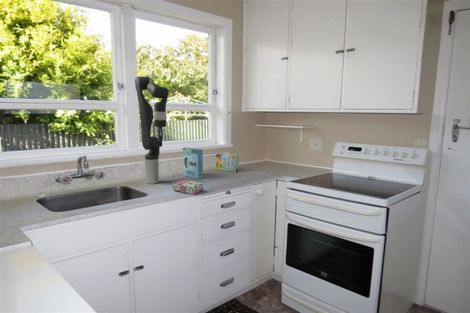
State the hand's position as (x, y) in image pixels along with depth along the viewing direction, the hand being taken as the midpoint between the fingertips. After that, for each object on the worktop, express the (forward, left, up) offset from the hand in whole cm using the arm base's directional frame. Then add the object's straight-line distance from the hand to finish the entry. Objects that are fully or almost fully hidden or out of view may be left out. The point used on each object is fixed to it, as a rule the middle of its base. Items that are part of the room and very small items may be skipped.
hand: (160, 146), depth 195 cm
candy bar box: (0, +11, -25) cm, 27 cm away
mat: (-2, +16, -29) cm, 33 cm away
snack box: (-60, +58, -29) cm, 89 cm away
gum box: (-39, +25, -29) cm, 55 cm away
